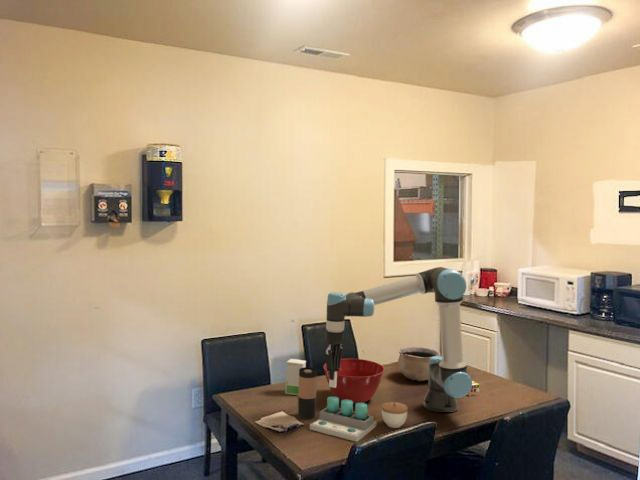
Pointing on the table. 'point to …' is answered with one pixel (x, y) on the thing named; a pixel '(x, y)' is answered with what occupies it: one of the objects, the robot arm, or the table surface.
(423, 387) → the table surface
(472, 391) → the rubik's cube
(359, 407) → the button
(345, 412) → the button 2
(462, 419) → the table surface
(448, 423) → the table surface
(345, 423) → the button panel
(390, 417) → the lidded jar
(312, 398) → the travel mug
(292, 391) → the skincare box
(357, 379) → the mixing bowl
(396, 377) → the table surface
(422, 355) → the ceramic bowl
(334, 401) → the button
